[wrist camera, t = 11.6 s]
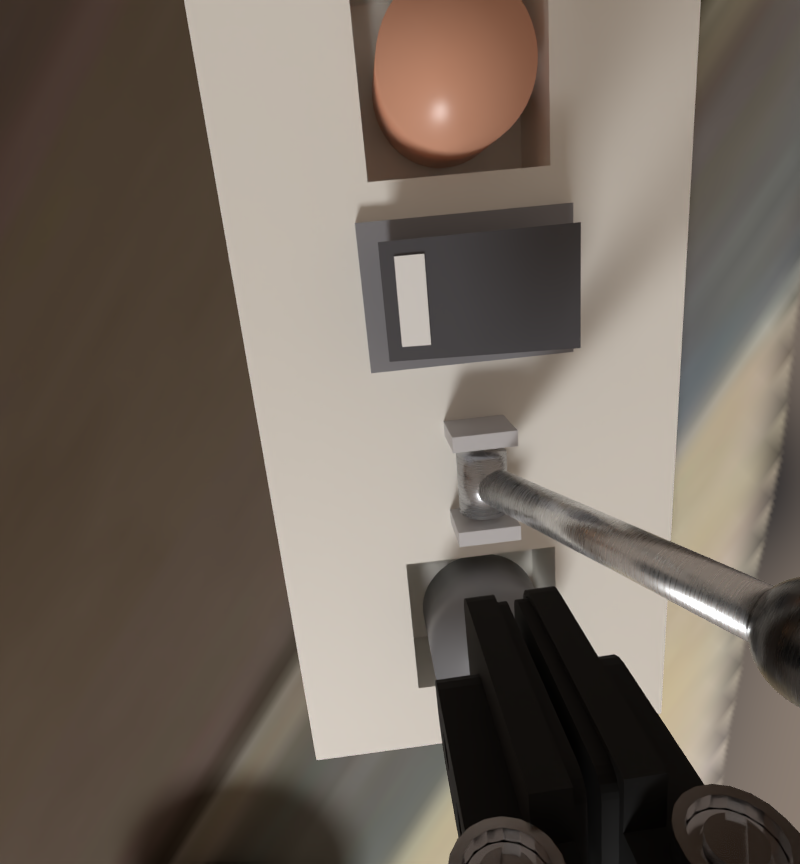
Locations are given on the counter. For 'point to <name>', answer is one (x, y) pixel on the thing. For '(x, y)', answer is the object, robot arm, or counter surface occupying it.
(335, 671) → the control panel
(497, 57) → the terracotta button
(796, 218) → the counter surface
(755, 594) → the toggle lever
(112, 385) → the counter surface
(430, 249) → the black rocker
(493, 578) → the charcoal button
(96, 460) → the counter surface
